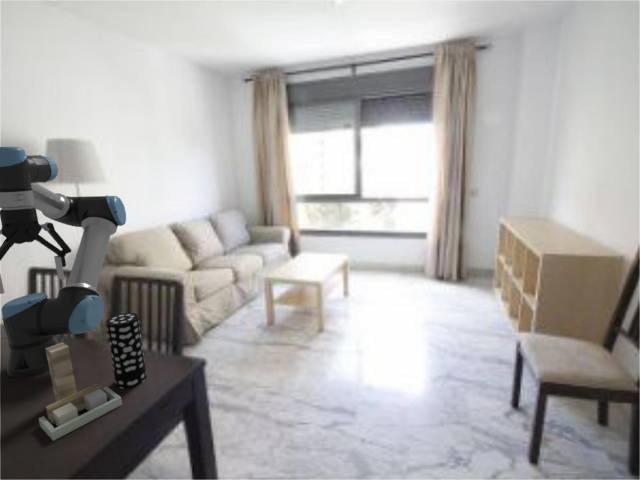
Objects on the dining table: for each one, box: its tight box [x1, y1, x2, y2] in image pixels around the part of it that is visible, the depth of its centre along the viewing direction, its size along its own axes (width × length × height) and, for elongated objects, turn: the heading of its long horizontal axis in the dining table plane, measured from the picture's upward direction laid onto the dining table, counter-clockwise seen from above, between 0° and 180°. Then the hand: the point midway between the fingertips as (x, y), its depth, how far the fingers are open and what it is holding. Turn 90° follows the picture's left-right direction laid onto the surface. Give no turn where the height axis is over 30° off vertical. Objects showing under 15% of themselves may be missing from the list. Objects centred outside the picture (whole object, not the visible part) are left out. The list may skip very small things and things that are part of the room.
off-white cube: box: [52, 403, 79, 428], centre depth 92 cm, size 4×4×4 cm
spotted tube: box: [105, 312, 148, 389], centre depth 108 cm, size 8×8×20 cm
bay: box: [38, 385, 123, 442], centre depth 95 cm, size 8×16×2 cm, turn 143°
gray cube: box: [83, 388, 108, 412], centre depth 98 cm, size 4×4×4 cm
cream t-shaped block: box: [45, 342, 102, 425], centre depth 98 cm, size 10×12×16 cm
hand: (32, 285), depth 100 cm, fingers open, 13 cm apart
